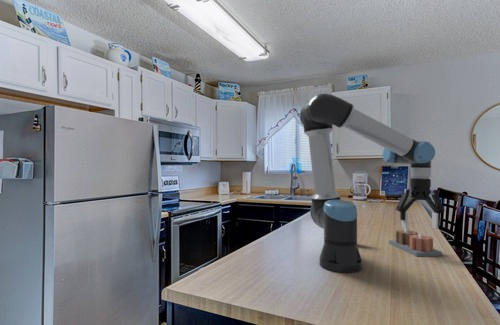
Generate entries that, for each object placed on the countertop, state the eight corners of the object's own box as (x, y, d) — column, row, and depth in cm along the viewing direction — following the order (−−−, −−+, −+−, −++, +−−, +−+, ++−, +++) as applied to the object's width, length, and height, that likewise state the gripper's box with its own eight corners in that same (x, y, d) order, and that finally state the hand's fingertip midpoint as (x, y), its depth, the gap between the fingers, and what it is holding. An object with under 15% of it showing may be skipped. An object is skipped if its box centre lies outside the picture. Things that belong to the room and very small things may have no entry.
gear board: (442, 255, 121) (441, 235, 121) (416, 256, 120) (416, 236, 120) (411, 243, 141) (411, 226, 141) (389, 243, 140) (388, 226, 140)
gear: (423, 245, 130) (423, 234, 130) (438, 251, 122) (438, 239, 122) (404, 246, 130) (404, 234, 130) (417, 252, 121) (417, 239, 121)
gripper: (441, 178, 131) (441, 226, 130) (387, 177, 129) (386, 226, 128) (454, 178, 123) (454, 230, 123) (397, 177, 121) (396, 229, 121)
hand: (419, 228), depth 126 cm, fingers open, 13 cm apart
